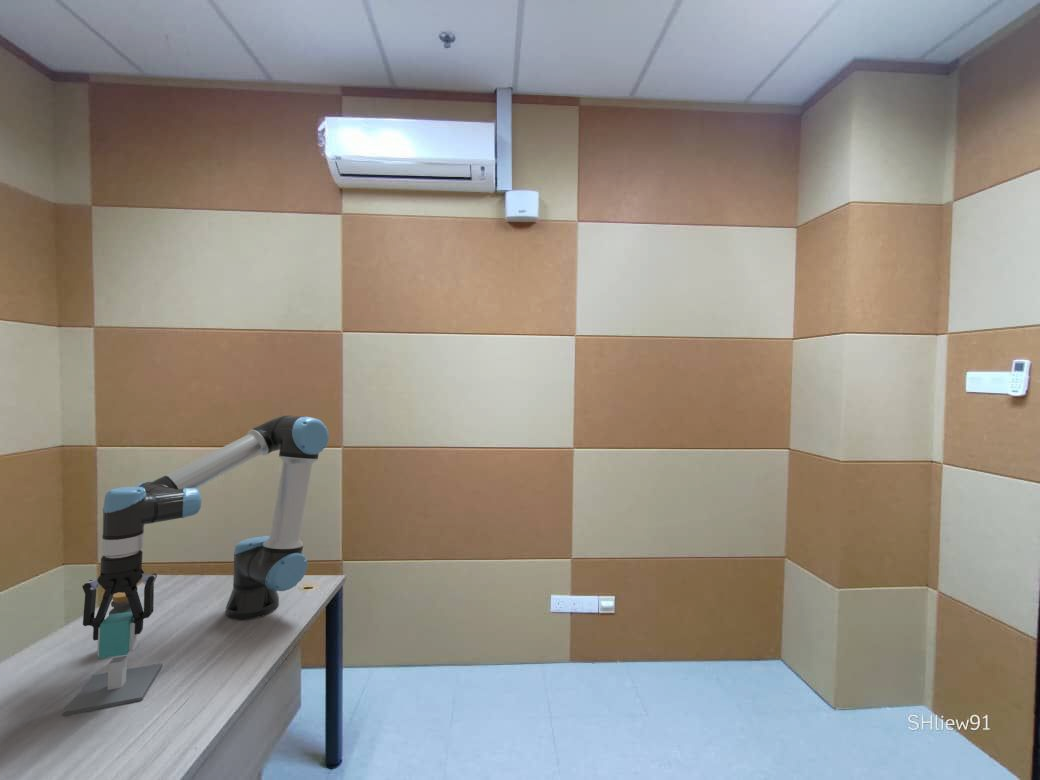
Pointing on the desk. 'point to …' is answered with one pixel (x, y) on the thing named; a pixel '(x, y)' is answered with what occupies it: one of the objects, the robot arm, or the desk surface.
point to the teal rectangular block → (115, 635)
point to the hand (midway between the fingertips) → (117, 649)
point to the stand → (114, 687)
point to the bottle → (120, 603)
